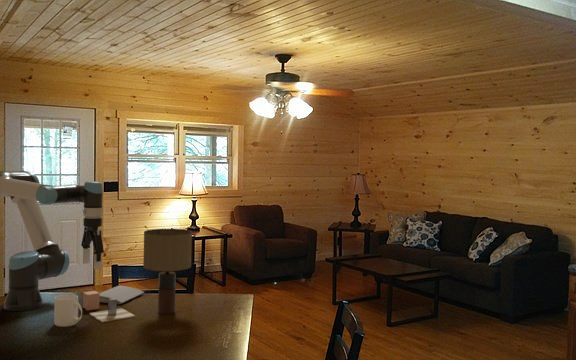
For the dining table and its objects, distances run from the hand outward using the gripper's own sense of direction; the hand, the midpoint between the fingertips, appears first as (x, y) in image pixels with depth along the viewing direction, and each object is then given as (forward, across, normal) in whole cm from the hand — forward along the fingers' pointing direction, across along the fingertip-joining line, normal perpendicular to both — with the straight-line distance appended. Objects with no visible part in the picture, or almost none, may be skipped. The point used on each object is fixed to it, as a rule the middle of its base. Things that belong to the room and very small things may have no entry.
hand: (91, 266), depth 234 cm
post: (+19, +15, +4) cm, 24 cm away
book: (+20, -11, +17) cm, 28 cm away
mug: (+19, +17, -14) cm, 29 cm away
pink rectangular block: (+19, -1, +1) cm, 19 cm away
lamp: (+19, +22, +25) cm, 38 cm away
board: (+19, +15, +4) cm, 24 cm away
